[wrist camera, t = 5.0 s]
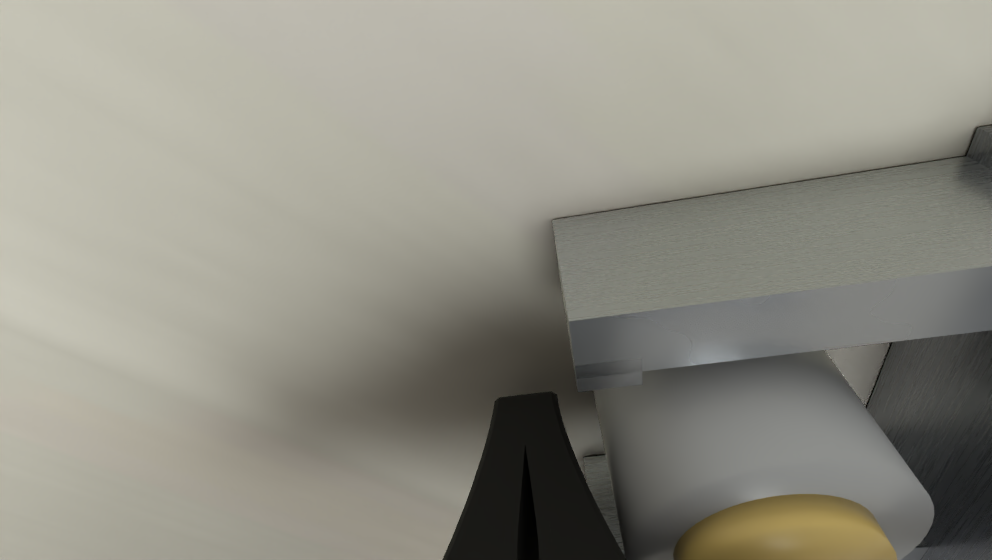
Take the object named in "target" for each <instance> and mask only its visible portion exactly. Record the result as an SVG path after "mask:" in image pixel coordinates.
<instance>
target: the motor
mask: <svg viewBox="0 0 992 560" xmlns="http://www.w3.org/2000/svg"><path fill="white" fill-rule="evenodd" d="M552 224H553V231H554V239H555V246H556V254H557V262H558V269H559V277H560V284H561V290H562V297H563V303H564V309H565V315H566V322H567V328H568V334H569V340H570V347H571V353H572V359H573V365H574V372H575V378H576V384H577V390H578V392H584V391H592V390H601V389H610V388H618V387H627V386H636V385H643V377H642V371H651V370H659V369H668V368H676V367H684V366H693V365H701V364H710V363H718V362H727V361H735V360H744V359H752V358H761V357H769V356H778V355H786V354H794V353H803V352H811V351H820V350H828V349H837V348H845V347H854V346H862V345H871V344H879V343H888V342H893V343H892V345H891V348H890V350H889V353H888V355H887V358H886V360H885V363H884V365H883V368H882V370H881V373H880V376H879V378H878V381H877V383H876V386H875V388H874V391H873V393H872V396H871V398H870V401H869V403H868V406H867V408H866V409H867V410H868V411H869V413H870V414H871V415H872V417H873V418H874V420H875V421H876V422H877V424H878V425H879V427H880V428H881V429H882V431H883V432H884V433H885V435H886V436H887V438H888V439H889V440H890V442H891V443H892V444H893V446H894V447H895V449H896V450H897V451H898V453H899V454H900V456H901V457H902V458H903V460H904V461H905V462H906V464H907V465H908V467H909V468H910V469H911V471H912V472H913V473H914V475H915V476H916V478H917V479H918V480H919V482H920V483H921V485H922V486H923V487H924V489H925V490H926V491H927V493H928V494H929V496H930V498H931V500H932V502H933V505H934V518H933V523H932V526H931V528H930V530H929V531H928V533H927V535H926V536H925V537H924V539H923V540H922V541H921V543H920V544H919V545H918V546H917V547H915V548H914V549H913V550H912V551H911V552H910V553H909V554H907V555H906V556H905V557H904V558H902V559H901V560H992V125H991V126H984V127H978V128H977V131H976V133H975V136H974V138H973V141H972V143H971V146H970V148H969V151H968V153H967V156H965V157H958V158H952V159H945V160H939V161H932V162H926V163H919V164H913V165H906V166H900V167H893V168H887V169H880V170H874V171H867V172H861V173H854V174H848V175H841V176H835V177H828V178H822V179H815V180H809V181H802V182H796V183H789V184H783V185H776V186H770V187H763V188H757V189H750V190H744V191H737V192H731V193H724V194H718V195H711V196H705V197H698V198H692V199H685V200H679V201H672V202H666V203H659V204H653V205H646V206H640V207H633V208H627V209H620V210H614V211H607V212H601V213H594V214H588V215H581V216H575V217H568V218H562V219H555V220H552ZM583 458H584V466H585V473H586V481H587V484H588V487H589V489H590V491H591V493H592V495H593V497H594V499H595V501H596V503H597V505H598V507H599V509H600V511H601V513H602V515H603V517H604V519H605V521H606V523H607V525H608V527H609V529H610V531H611V532H612V534H613V536H614V538H615V540H616V542H617V543H618V545H619V547H620V549H621V551H622V552H623V554H624V556H625V553H624V547H623V542H622V537H621V532H620V527H619V521H618V516H617V511H616V506H615V501H614V496H613V490H612V485H611V480H610V475H609V470H608V464H607V459H606V455H602V456H592V457H583Z"/></svg>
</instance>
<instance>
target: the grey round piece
mask: <svg viewBox="0 0 992 560" xmlns="http://www.w3.org/2000/svg"><path fill="white" fill-rule="evenodd" d="M642 377H643V385H636V386H627V387H618V388H610V389H601V390H593V392H594V397H595V402H596V407H597V412H598V418H599V423H600V428H601V433H602V438H603V444H604V449H605V454H606V459H607V464H608V470H609V475H610V480H611V485H612V490H613V496H614V501H615V506H616V511H617V516H618V521H619V527H620V532H621V537H622V542H623V547H624V553H625V558H626V559H627V560H901V559H902V558H904V557H905V556H906V555H907V554H909V553H910V552H911V551H912V550H913V549H914V548H915V547H917V546H918V545H919V544H920V543H921V541H922V540H923V539H924V537H925V536H926V535H927V533H928V531H929V530H930V528H931V526H932V523H933V518H934V505H933V502H932V500H931V498H930V496H929V494H928V493H927V491H926V490H925V489H924V487H923V486H922V485H921V483H920V482H919V480H918V479H917V478H916V476H915V475H914V473H913V472H912V471H911V469H910V468H909V467H908V465H907V464H906V462H905V461H904V460H903V458H902V457H901V456H900V454H899V453H898V451H897V450H896V449H895V447H894V446H893V444H892V443H891V442H890V440H889V439H888V438H887V436H886V435H885V433H884V432H883V431H882V429H881V428H880V427H879V425H878V424H877V422H876V421H875V420H874V418H873V417H872V415H871V414H870V413H869V411H868V410H867V409H866V407H865V406H864V404H863V403H862V402H861V400H860V399H859V398H858V396H857V395H856V393H855V392H854V391H853V389H852V388H851V386H850V385H849V384H848V382H847V381H846V380H845V378H844V377H843V375H842V374H841V373H840V371H839V370H838V369H837V367H836V366H835V364H834V363H833V362H832V360H831V359H830V357H829V356H828V355H827V353H826V352H825V351H824V350H820V351H811V352H803V353H794V354H786V355H778V356H769V357H761V358H752V359H744V360H735V361H727V362H718V363H710V364H701V365H693V366H684V367H676V368H668V369H659V370H651V371H642Z"/></svg>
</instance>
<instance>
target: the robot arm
mask: <svg viewBox="0 0 992 560" xmlns="http://www.w3.org/2000/svg"><path fill="white" fill-rule="evenodd" d="M443 560H627V559H626V558H625V556H624V554H623V552H622V551H621V549H620V547H619V545H618V543H617V542H616V540H615V538H614V536H613V534H612V532H611V531H610V529H609V527H608V525H607V523H606V521H605V519H604V517H603V515H602V513H601V511H600V509H599V507H598V505H597V503H596V501H595V499H594V497H593V495H592V493H591V491H590V489H589V487H588V484H587V482H586V480H585V478H584V475H583V473H582V471H581V469H580V467H579V464H578V462H577V460H576V457H575V455H574V452H573V450H572V447H571V444H570V442H569V439H568V436H567V433H566V430H565V427H564V424H563V421H562V417H561V414H560V409H559V404H558V398H557V394H555V393H553V392H543V393H534V394H526V395H517V396H509V397H500V398H498V399H497V400H496V401H495V404H494V410H493V415H492V420H491V424H490V428H489V432H488V436H487V440H486V443H485V447H484V450H483V454H482V457H481V460H480V463H479V466H478V469H477V472H476V475H475V478H474V481H473V484H472V487H471V490H470V493H469V496H468V499H467V501H466V504H465V506H464V509H463V512H462V514H461V517H460V519H459V522H458V524H457V527H456V529H455V532H454V534H453V537H452V539H451V542H450V544H449V546H448V548H447V551H446V553H445V555H444V558H443Z"/></svg>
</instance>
